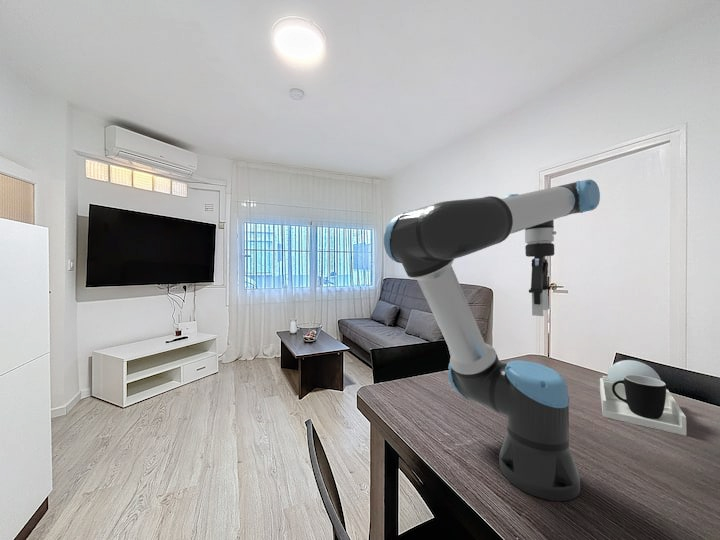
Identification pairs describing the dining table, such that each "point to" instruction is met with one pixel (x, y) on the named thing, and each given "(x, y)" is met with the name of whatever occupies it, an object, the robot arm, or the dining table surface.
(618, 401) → the dish rack
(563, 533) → the dining table surface
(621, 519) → the dining table surface
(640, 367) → the plate in rack
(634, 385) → the mug
